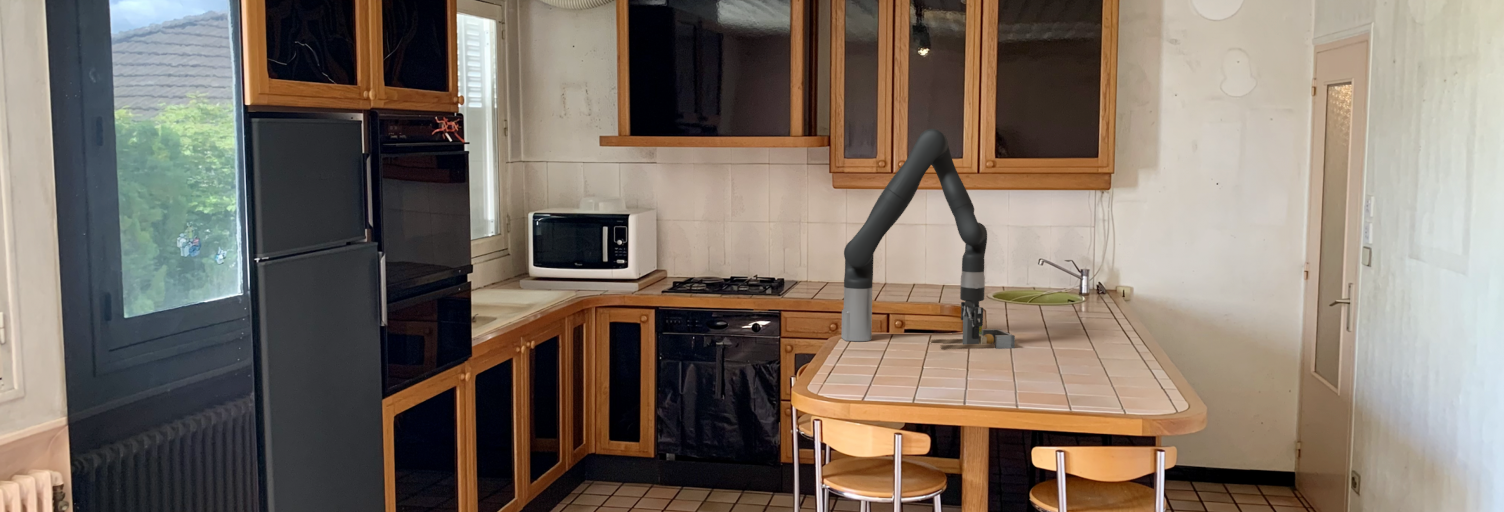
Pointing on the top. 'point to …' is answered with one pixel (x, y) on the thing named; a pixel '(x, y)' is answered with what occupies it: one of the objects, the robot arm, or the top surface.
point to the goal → (1001, 338)
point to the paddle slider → (968, 333)
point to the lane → (959, 346)
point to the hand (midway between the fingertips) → (971, 336)
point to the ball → (989, 338)
